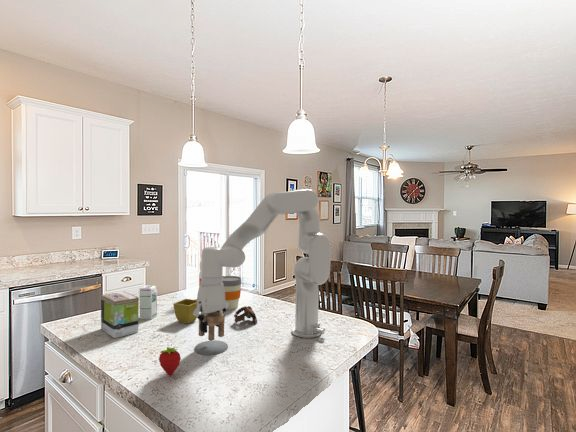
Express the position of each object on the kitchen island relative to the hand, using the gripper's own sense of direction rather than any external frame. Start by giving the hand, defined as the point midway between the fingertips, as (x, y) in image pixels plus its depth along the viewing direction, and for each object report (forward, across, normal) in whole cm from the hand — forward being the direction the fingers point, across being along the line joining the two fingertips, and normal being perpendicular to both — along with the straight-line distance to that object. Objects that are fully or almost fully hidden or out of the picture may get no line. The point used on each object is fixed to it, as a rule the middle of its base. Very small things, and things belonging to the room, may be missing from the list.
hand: (211, 328), depth 124 cm
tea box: (+8, +15, -42) cm, 45 cm away
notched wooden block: (+3, 0, 0) cm, 3 cm away
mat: (+7, 0, 0) cm, 7 cm away
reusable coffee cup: (+7, -37, -34) cm, 51 cm away
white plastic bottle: (+7, -39, -55) cm, 68 cm away
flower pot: (+7, -10, -31) cm, 33 cm away
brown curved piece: (+7, -28, -11) cm, 31 cm away
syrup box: (+7, -1, -49) cm, 50 cm away
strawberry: (+7, +21, +7) cm, 23 cm away
